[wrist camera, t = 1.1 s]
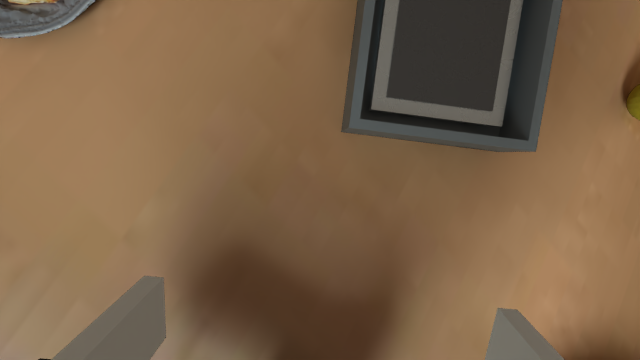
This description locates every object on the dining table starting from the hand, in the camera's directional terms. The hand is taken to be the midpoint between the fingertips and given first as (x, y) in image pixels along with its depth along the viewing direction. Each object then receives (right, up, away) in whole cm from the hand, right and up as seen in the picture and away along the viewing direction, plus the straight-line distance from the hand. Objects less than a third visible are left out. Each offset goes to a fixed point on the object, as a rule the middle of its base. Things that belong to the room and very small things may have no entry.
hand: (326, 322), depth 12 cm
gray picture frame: (+14, +20, +21) cm, 32 cm away
